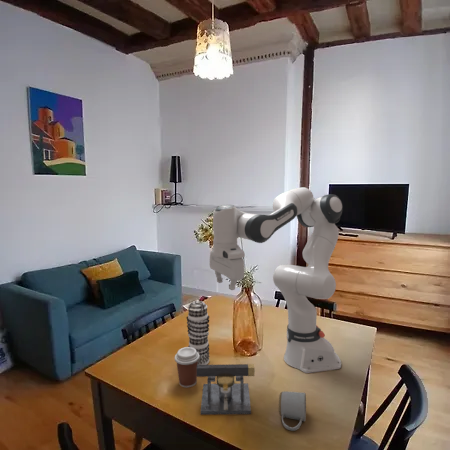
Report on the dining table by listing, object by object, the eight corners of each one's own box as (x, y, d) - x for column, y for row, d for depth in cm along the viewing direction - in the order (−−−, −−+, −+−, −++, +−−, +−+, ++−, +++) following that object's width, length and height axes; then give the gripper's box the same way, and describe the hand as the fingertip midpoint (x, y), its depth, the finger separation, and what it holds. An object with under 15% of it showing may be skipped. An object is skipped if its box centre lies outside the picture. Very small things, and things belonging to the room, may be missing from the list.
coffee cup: (176, 375, 125) (175, 345, 124) (200, 374, 126) (199, 344, 124) (174, 390, 116) (173, 359, 115) (200, 389, 117) (199, 357, 115)
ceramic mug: (280, 405, 108) (280, 384, 107) (306, 409, 106) (306, 388, 105) (277, 430, 98) (277, 406, 97) (305, 435, 96) (305, 411, 94)
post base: (248, 386, 118) (248, 365, 117) (250, 414, 104) (250, 390, 103) (203, 386, 118) (203, 365, 117) (200, 414, 104) (199, 390, 103)
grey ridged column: (207, 368, 130) (205, 308, 126) (184, 366, 131) (182, 306, 128) (212, 356, 138) (211, 299, 135) (191, 354, 140) (190, 298, 137)
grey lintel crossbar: (253, 373, 115) (253, 358, 114) (255, 390, 106) (255, 373, 105) (198, 374, 115) (198, 358, 114) (196, 391, 106) (195, 374, 105)
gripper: (205, 245, 128) (205, 279, 130) (231, 256, 110) (231, 295, 112) (219, 243, 131) (220, 277, 133) (247, 253, 113) (247, 292, 115)
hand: (225, 285), depth 122 cm, fingers open, 8 cm apart
